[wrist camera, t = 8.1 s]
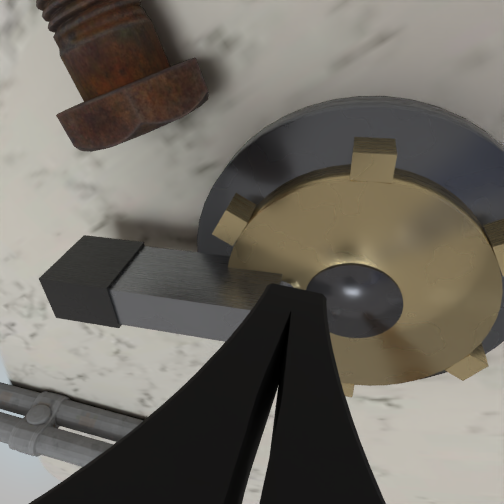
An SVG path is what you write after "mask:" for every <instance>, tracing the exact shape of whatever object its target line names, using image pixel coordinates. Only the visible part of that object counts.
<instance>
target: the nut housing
mask: <svg viewBox="0 0 504 504" xmlns="http://www.w3.org/2000/svg"><path fill="white" fill-rule="evenodd" d="M354 137H369V138H389V139H395V142H396V149H397V159H396V164H395V168H398V169H402V170H406V171H410V172H413V173H415V174H418V175H420V176H423V177H426V178H428V179H430V180H432V181H434V182H435V183H437V184H439V185H441V186H443V187H445V188H446V189H447V190H449V191H450V192H451V193H453V194H454V195H455V196H457V197H458V198H459V199H460V200H461V201H462V202H463V203H464V204H465V205H466V206H467V207H468V208H469V209H470V210H471V211H472V212H473V213H474V215H475V216H476V218H477V219H478V220H479V222H480V223H481V225H482V227H483V229H484V226H483V225H484V224H488V223H491V222H494V221H497V220H500V219H504V147H502V146H501V145H500V144H499V143H498V142H497V141H496V140H494V139H493V138H492V137H491V136H490V135H489V134H488V133H486V132H485V131H484V130H482V129H481V128H479V127H477V126H476V125H474V124H473V123H471V122H469V121H468V120H466V119H465V118H463V117H461V116H458V115H456V114H454V113H451V112H449V111H447V110H444V109H442V108H440V107H437V106H433V105H430V104H426V103H422V102H419V101H415V100H410V99H402V98H395V97H387V96H358V97H350V98H342V99H335V100H330V101H326V102H322V103H319V104H315V105H311V106H308V107H305V108H303V109H300V110H298V111H296V112H293V113H291V114H288V115H286V116H284V117H282V118H281V119H279V120H277V121H275V122H274V123H272V124H270V125H269V126H267V127H265V128H264V129H263V130H261V131H260V132H259V133H258V134H256V135H255V136H254V137H253V138H251V139H250V140H249V141H248V142H247V143H246V144H245V145H244V146H243V147H242V148H241V149H240V150H239V151H238V152H237V153H236V154H235V155H234V157H233V158H232V160H231V161H230V162H229V164H228V165H227V167H226V168H225V170H224V171H223V172H222V174H221V175H220V177H219V178H218V179H217V181H216V182H215V184H214V185H213V187H212V189H211V191H210V193H209V195H208V197H207V199H206V201H205V204H204V207H203V210H202V214H201V217H200V221H199V228H198V235H197V247H198V252H199V253H207V254H216V255H224V256H231V253H232V250H233V247H234V245H235V243H236V242H235V243H234V245H233V246H231V245H230V244H228V243H226V242H224V241H223V240H221V239H219V238H218V237H216V236H214V235H212V233H213V231H214V229H215V228H216V226H217V224H218V223H219V221H220V219H221V217H222V216H223V214H224V212H225V211H226V209H227V207H228V206H229V204H230V202H231V200H232V199H233V197H234V195H235V194H236V193H237V194H239V195H241V196H242V197H244V198H246V199H247V200H249V201H251V202H252V203H254V204H256V206H257V205H258V204H259V203H260V202H261V201H262V200H263V199H264V198H265V197H266V196H267V195H268V194H270V193H271V192H273V191H274V190H275V189H277V188H278V187H279V186H281V185H283V184H284V183H286V182H288V181H290V180H292V179H294V178H296V177H298V176H301V175H303V174H306V173H309V172H311V171H314V170H318V169H323V168H327V167H331V166H339V165H347V164H351V162H352V153H353V145H354ZM255 208H256V207H255ZM484 231H485V229H484ZM485 233H486V231H485ZM486 235H487V234H486ZM236 241H237V240H236ZM500 272H501V270H500ZM501 276H502V290H503V293H502V300H501V307H500V310H499V313H498V316H497V319H496V321H495V323H494V325H493V326H492V328H491V330H490V332H489V333H488V335H487V336H486V337H485V338H484V340H483V341H482V345H483V349H484V352H485V354H486V353H488V352H489V351H491V350H492V349H494V348H495V347H497V346H498V345H499V344H500V343H502V342H503V341H504V276H503V275H502V273H501ZM445 372H447V371H445V370H443V371H441V372H438V373H436V374H433V375H431V376H435V375H439V374H442V373H445ZM431 376H428V377H431ZM425 378H427V377H425ZM421 379H423V378H421Z"/></svg>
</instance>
